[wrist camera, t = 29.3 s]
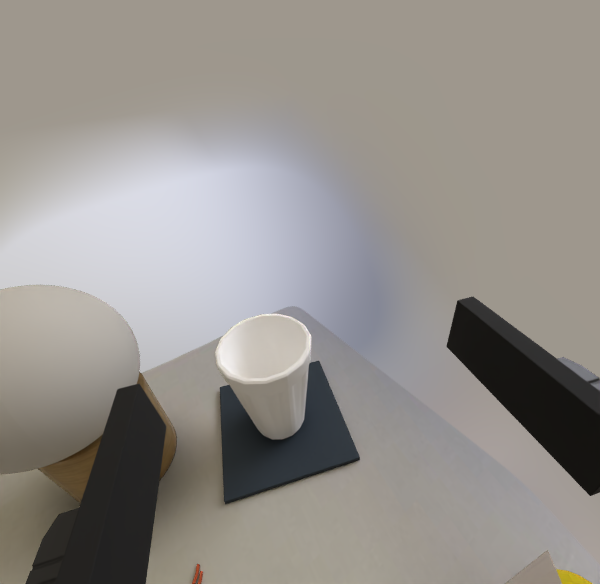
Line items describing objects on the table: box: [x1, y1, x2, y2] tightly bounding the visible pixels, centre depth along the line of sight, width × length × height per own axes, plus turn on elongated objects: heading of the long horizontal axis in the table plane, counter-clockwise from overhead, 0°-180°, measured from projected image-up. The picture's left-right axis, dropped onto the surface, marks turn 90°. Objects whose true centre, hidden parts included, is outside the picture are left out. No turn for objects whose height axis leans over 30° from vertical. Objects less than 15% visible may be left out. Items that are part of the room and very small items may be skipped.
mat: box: [220, 361, 360, 504], centre depth 38 cm, size 15×15×1 cm
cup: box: [215, 314, 311, 440], centre depth 34 cm, size 10×10×13 cm
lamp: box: [0, 285, 177, 504], centre depth 27 cm, size 15×14×25 cm
